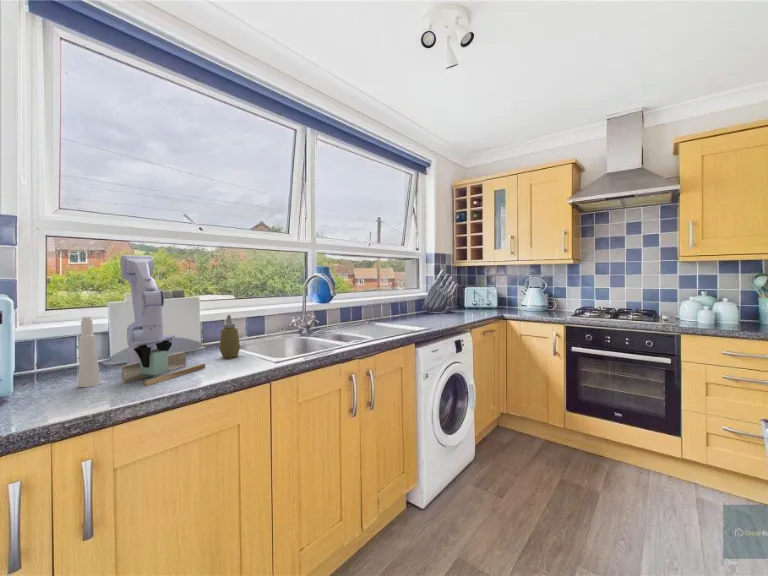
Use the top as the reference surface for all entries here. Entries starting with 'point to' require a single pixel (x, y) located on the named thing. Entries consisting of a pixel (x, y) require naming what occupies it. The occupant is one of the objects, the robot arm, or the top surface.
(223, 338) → the squeeze bottle
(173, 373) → the cleat board
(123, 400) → the top surface
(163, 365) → the teal box
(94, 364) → the cosmetic bottle
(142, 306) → the robot arm
